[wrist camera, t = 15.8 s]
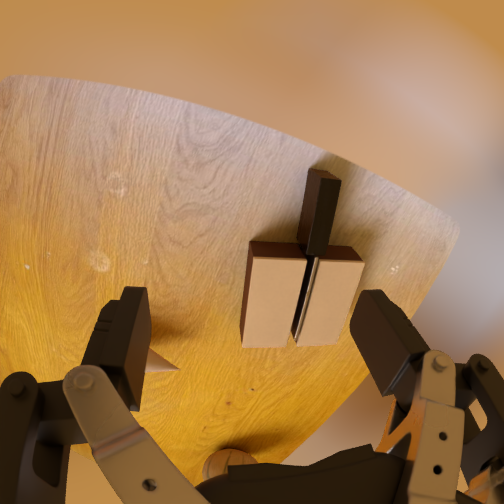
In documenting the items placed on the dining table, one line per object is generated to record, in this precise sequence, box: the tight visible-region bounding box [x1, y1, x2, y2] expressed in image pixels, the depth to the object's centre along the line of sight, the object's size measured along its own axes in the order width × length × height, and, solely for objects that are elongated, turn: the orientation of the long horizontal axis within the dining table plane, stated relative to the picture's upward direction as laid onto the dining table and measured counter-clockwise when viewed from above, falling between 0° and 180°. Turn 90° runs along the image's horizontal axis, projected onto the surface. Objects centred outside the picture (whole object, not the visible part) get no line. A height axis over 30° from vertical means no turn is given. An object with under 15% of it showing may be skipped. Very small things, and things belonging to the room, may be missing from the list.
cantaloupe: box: [202, 449, 258, 481], centre depth 58 cm, size 15×15×15 cm
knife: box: [291, 169, 342, 341], centre depth 36 cm, size 22×2×5 cm, turn 174°
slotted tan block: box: [240, 241, 365, 348], centre depth 39 cm, size 14×14×4 cm
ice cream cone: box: [145, 348, 180, 372], centre depth 40 cm, size 6×6×15 cm
